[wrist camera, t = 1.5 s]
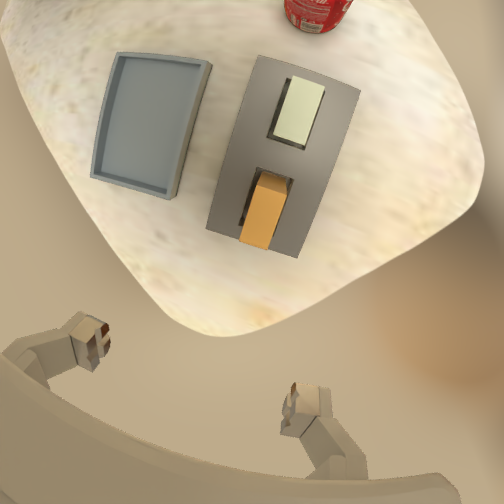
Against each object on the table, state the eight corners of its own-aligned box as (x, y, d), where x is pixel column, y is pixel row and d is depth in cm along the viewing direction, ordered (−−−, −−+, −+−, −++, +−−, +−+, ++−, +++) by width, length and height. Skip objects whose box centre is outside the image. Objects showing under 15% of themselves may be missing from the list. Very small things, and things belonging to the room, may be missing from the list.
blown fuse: (262, 170, 34) (256, 184, 26) (285, 178, 34) (287, 195, 26) (248, 213, 36) (238, 240, 28) (270, 221, 37) (267, 250, 28)
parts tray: (125, 55, 28) (116, 51, 26) (212, 65, 28) (207, 60, 26) (99, 173, 36) (89, 177, 33) (176, 195, 36) (169, 200, 34)
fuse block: (260, 60, 28) (258, 54, 25) (354, 93, 28) (360, 90, 26) (211, 220, 37) (205, 228, 35) (296, 248, 38) (297, 258, 35)
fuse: (290, 89, 29) (293, 75, 21) (314, 97, 29) (325, 86, 21) (275, 133, 32) (273, 134, 24) (298, 141, 32) (304, 145, 24)
